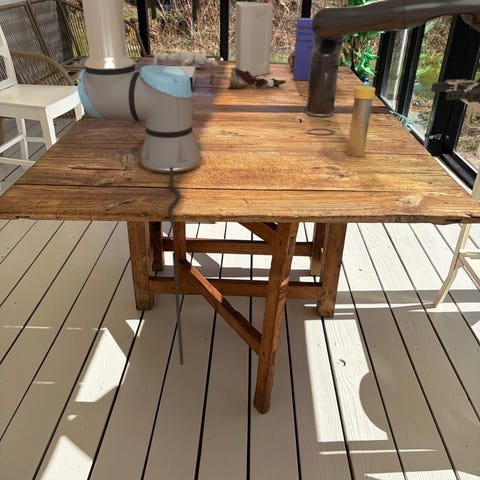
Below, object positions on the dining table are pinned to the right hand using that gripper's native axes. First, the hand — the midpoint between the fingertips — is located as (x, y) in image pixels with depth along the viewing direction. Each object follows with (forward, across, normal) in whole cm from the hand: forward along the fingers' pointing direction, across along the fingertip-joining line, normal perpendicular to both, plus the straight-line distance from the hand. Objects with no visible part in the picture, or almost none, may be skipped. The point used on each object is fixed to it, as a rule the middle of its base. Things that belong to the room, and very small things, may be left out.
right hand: (439, 91), depth 124 cm
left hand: (+68, -48, -14) cm, 84 cm away
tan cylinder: (+21, 0, +16) cm, 26 cm away
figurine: (+42, -75, +15) cm, 87 cm away
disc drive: (+72, -83, +14) cm, 111 cm away
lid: (+20, 0, -1) cm, 20 cm away
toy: (+66, -116, +14) cm, 134 cm away
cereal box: (+11, -89, +15) cm, 91 cm away
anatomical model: (+15, -109, +15) cm, 111 cm away
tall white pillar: (+36, -104, +15) cm, 111 cm away
